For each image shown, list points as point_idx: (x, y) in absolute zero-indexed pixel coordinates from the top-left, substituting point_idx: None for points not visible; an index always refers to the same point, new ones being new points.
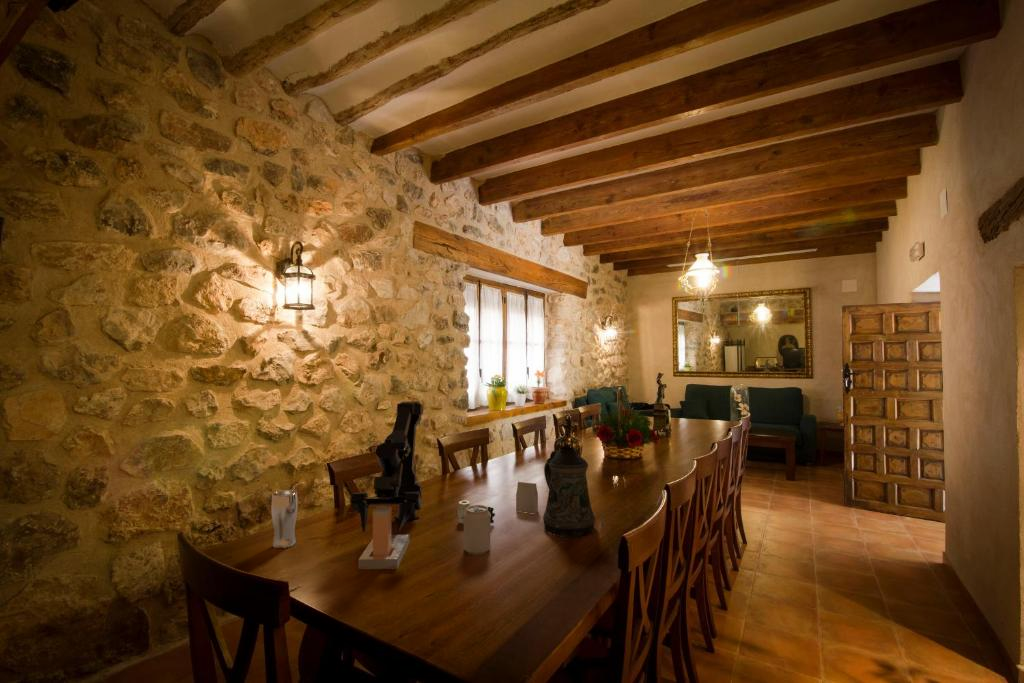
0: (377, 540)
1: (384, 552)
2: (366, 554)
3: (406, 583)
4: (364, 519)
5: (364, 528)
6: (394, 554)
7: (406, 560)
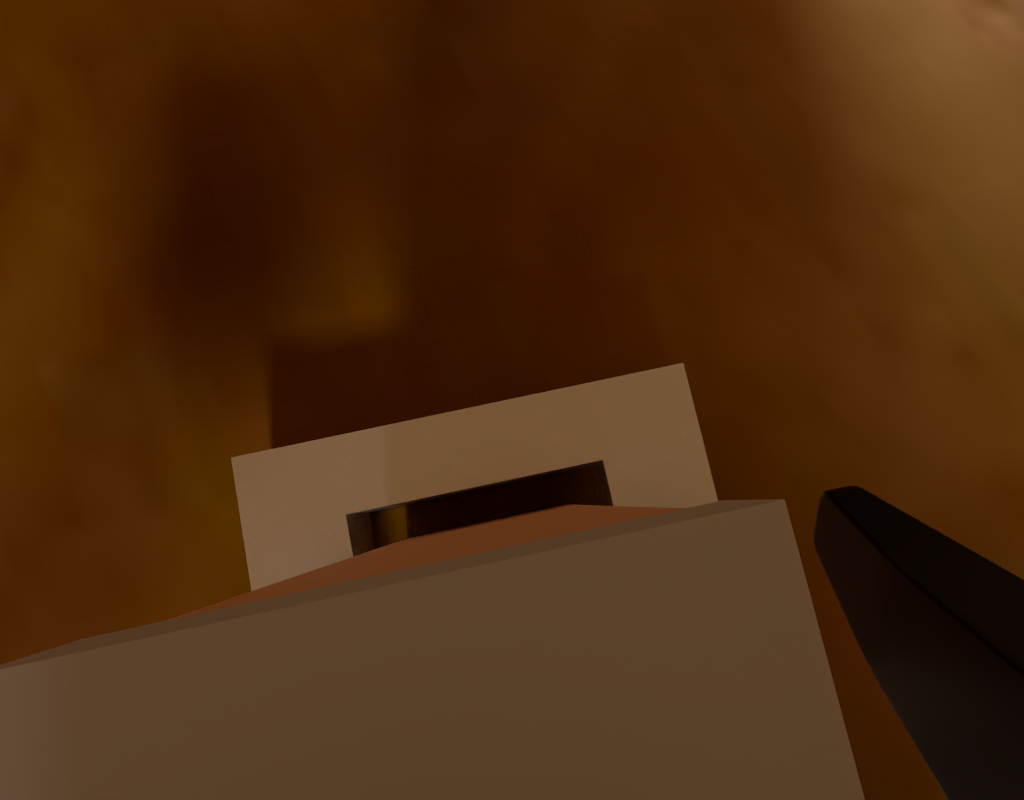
0: (518, 521)
1: (427, 536)
2: None
3: (80, 203)
4: (1020, 653)
5: (847, 542)
6: None
7: None
